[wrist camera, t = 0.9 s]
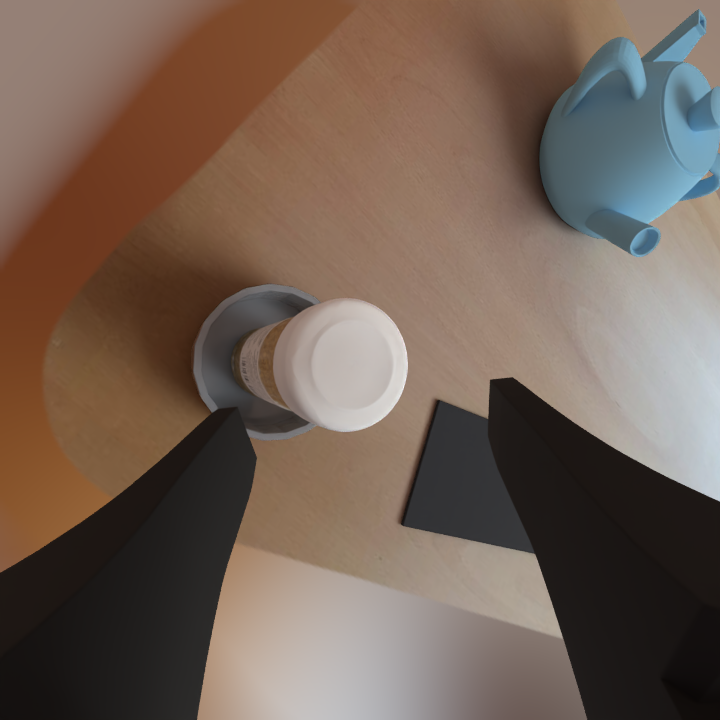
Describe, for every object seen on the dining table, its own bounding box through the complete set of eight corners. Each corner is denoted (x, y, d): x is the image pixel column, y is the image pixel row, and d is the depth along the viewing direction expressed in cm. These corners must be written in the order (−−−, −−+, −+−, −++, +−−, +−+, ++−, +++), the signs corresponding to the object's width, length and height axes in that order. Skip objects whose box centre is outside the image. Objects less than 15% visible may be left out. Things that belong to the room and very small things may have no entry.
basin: (275, 455, 25) (289, 469, 22) (157, 373, 22) (154, 376, 19) (351, 352, 28) (374, 351, 25) (254, 265, 25) (266, 251, 22)
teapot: (492, 116, 34) (631, 12, 24) (601, 74, 40) (745, -21, 30) (551, 279, 37) (694, 249, 27) (642, 215, 44) (785, 172, 34)
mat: (400, 524, 30) (402, 526, 29) (437, 400, 31) (440, 400, 31) (600, 566, 40) (603, 568, 40) (621, 472, 42) (623, 473, 42)
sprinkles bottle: (304, 391, 26) (419, 419, 14) (233, 403, 24) (296, 449, 12) (295, 322, 26) (405, 291, 14) (223, 329, 24) (277, 300, 12)
